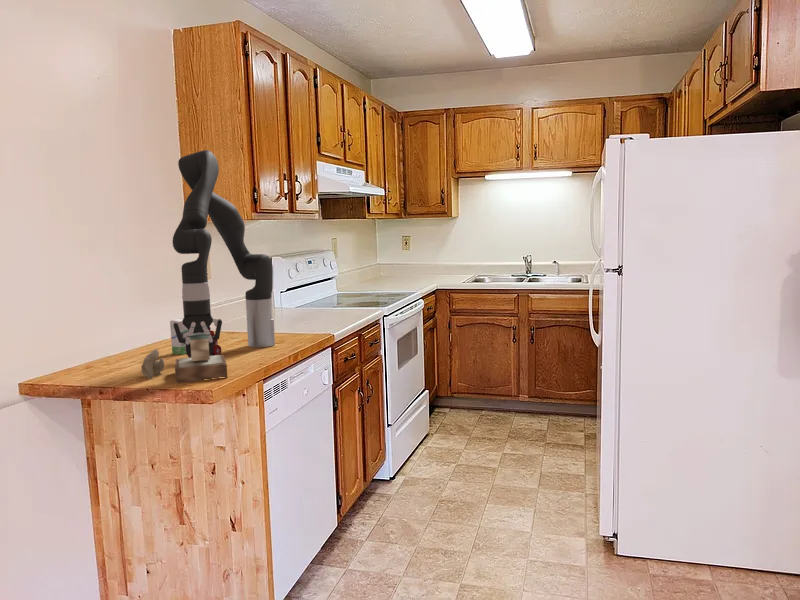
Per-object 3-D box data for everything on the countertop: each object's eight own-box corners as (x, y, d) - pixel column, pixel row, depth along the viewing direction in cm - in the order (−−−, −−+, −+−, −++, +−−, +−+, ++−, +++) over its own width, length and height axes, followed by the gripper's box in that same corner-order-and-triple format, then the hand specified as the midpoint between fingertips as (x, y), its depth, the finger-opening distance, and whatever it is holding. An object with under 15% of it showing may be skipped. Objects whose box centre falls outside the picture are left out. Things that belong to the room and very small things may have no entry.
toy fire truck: (225, 354, 212) (223, 324, 211) (201, 362, 201) (199, 330, 200) (209, 353, 215) (207, 323, 214) (184, 361, 204) (182, 329, 202)
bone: (148, 366, 189) (159, 340, 186) (165, 378, 188) (176, 351, 185) (129, 375, 181) (140, 347, 178) (146, 387, 180) (157, 359, 177)
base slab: (224, 367, 192) (223, 354, 191) (227, 377, 179) (226, 363, 178) (176, 372, 187) (175, 358, 187) (175, 383, 174) (174, 368, 173)
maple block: (209, 356, 186) (207, 332, 185) (209, 359, 181) (208, 335, 180) (191, 357, 184) (189, 334, 183) (191, 361, 179) (189, 337, 178)
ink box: (181, 355, 213) (179, 321, 212) (171, 353, 216) (169, 320, 214) (200, 350, 221) (198, 317, 219) (190, 349, 223) (188, 316, 222)
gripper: (221, 295, 186) (224, 351, 188) (170, 298, 181) (174, 355, 183) (222, 297, 179) (226, 355, 181) (169, 301, 174) (174, 360, 176)
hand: (200, 355), depth 182 cm, fingers closed on maple block, 5 cm apart
